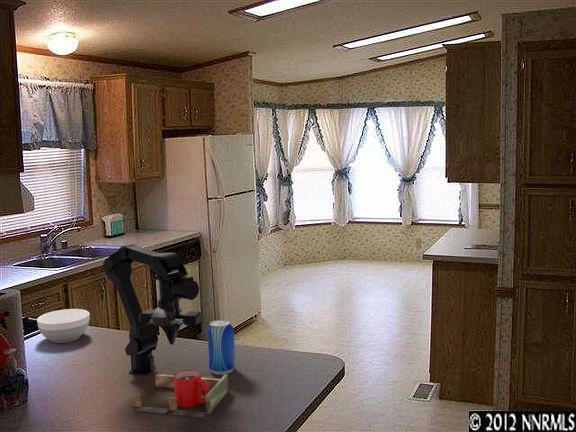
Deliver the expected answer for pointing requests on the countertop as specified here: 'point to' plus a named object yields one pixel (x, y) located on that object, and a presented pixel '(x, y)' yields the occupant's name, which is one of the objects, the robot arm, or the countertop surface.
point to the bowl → (63, 324)
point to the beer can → (221, 347)
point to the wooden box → (212, 398)
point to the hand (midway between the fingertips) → (172, 344)
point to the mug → (189, 388)
